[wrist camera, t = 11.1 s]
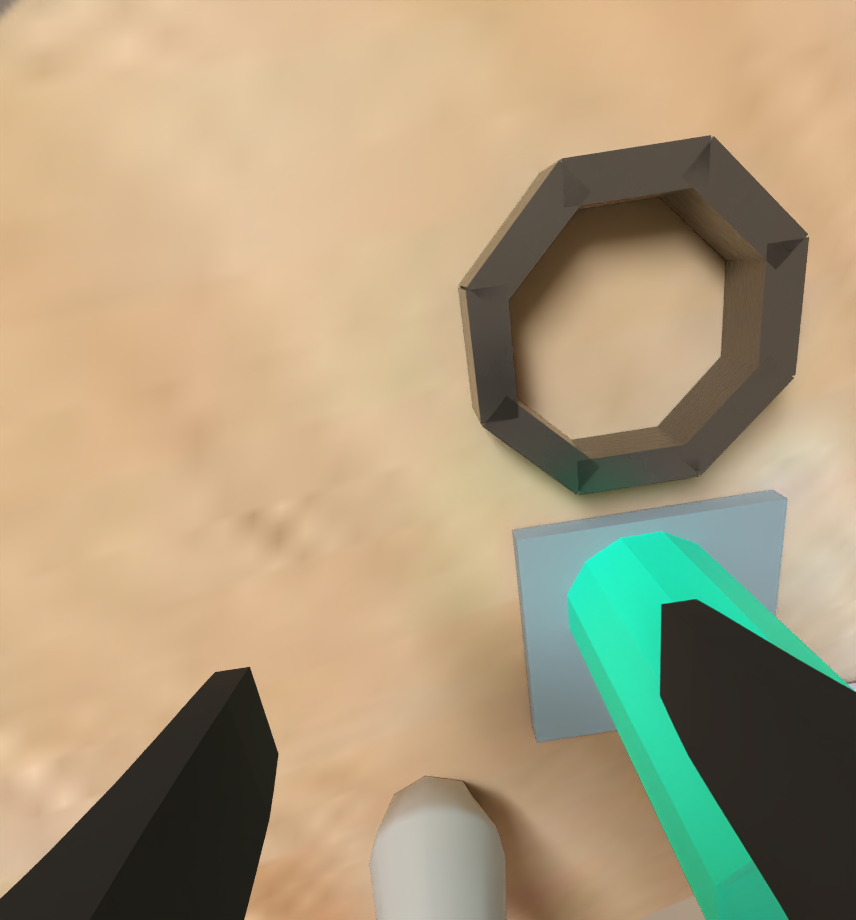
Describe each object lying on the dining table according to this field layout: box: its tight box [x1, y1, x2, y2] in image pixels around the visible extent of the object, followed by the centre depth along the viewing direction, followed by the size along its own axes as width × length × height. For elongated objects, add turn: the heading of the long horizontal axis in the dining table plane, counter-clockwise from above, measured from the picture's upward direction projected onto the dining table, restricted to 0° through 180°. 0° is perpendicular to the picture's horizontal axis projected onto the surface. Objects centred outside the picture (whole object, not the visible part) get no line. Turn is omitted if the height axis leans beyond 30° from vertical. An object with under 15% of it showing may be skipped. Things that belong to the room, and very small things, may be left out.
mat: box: [513, 490, 787, 743], centre depth 22 cm, size 10×10×1 cm
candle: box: [567, 531, 854, 920], centre depth 15 cm, size 6×6×12 cm
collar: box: [458, 135, 809, 495], centre depth 17 cm, size 10×10×2 cm
